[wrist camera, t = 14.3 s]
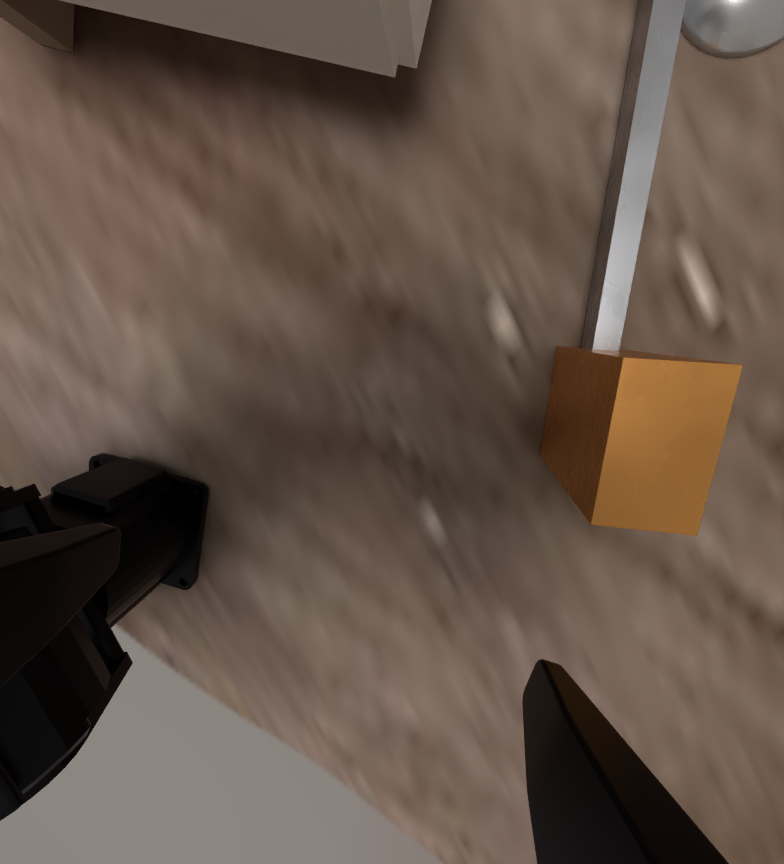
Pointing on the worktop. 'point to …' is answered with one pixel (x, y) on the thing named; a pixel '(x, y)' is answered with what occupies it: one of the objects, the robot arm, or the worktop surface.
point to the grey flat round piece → (733, 26)
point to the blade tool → (631, 370)
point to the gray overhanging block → (258, 25)
